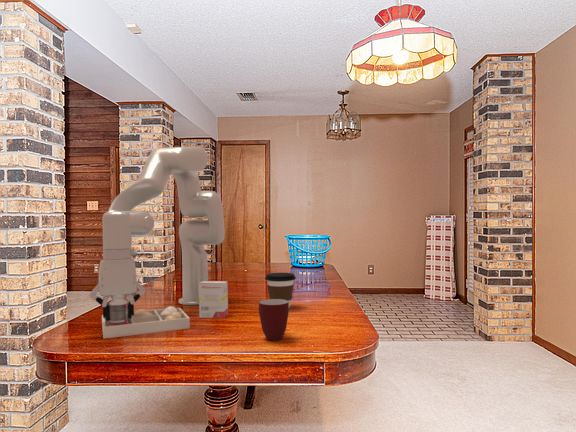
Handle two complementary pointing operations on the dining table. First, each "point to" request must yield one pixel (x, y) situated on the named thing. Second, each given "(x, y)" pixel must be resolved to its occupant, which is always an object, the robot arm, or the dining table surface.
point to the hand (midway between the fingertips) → (118, 318)
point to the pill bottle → (118, 310)
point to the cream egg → (168, 310)
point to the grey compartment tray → (146, 324)
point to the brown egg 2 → (173, 315)
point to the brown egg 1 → (142, 313)
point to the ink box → (213, 299)
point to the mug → (273, 317)
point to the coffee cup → (280, 286)
